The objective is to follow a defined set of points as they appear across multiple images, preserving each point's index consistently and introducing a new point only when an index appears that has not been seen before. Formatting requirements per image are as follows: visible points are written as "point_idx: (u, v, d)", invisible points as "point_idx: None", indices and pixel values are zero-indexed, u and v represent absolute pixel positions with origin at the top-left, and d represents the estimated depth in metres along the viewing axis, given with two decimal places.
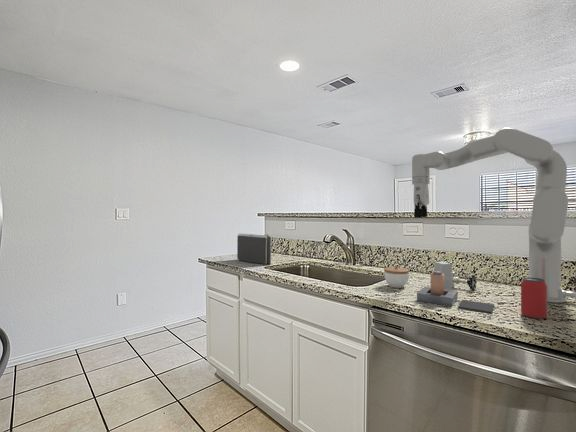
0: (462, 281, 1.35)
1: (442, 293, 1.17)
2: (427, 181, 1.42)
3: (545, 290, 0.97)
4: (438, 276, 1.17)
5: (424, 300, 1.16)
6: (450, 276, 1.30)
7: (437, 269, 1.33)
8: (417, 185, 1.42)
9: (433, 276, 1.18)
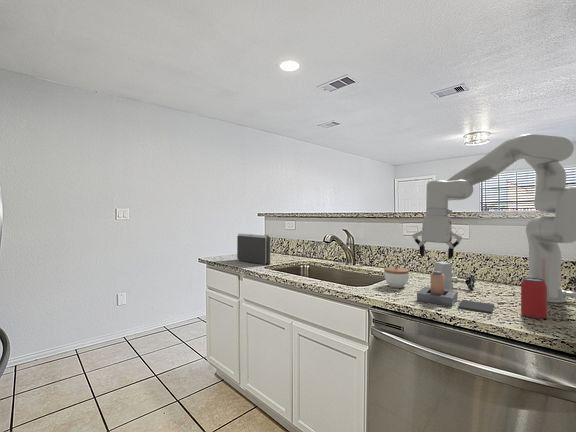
0: (460, 281, 1.36)
1: (442, 293, 1.17)
2: None
3: (545, 290, 0.97)
4: (438, 276, 1.17)
5: (424, 300, 1.16)
6: (450, 276, 1.30)
7: (437, 269, 1.33)
8: (449, 219, 1.16)
9: (433, 276, 1.18)
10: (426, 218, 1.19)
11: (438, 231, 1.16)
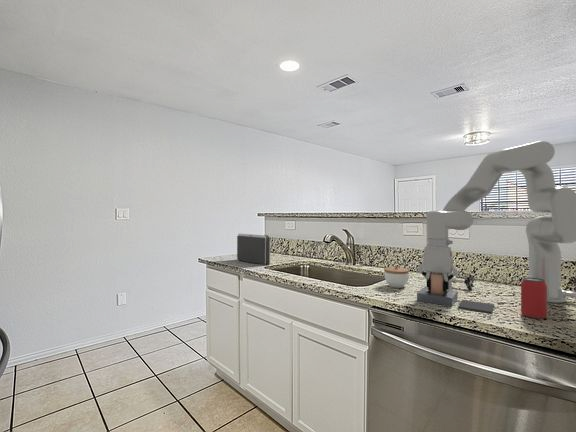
0: (459, 280, 1.36)
1: (442, 293, 1.17)
2: None
3: (545, 290, 0.97)
4: (439, 276, 1.17)
5: (424, 300, 1.16)
6: None
7: None
8: (450, 250, 1.16)
9: (433, 276, 1.18)
10: (427, 248, 1.19)
11: (439, 262, 1.16)
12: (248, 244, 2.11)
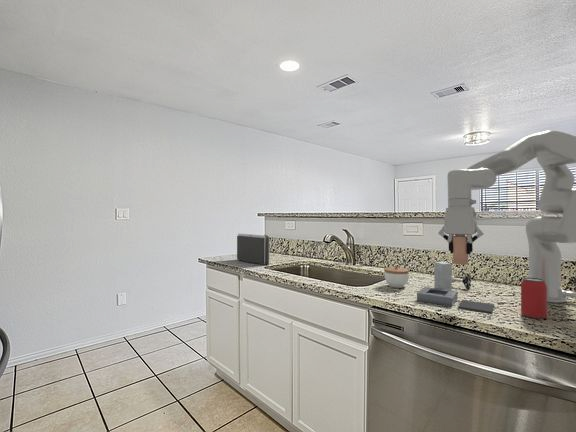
0: (457, 280, 1.37)
1: (466, 256, 1.11)
2: None
3: (545, 290, 0.97)
4: (461, 238, 1.11)
5: (424, 300, 1.16)
6: (450, 276, 1.30)
7: (437, 269, 1.33)
8: (473, 209, 1.10)
9: (456, 238, 1.12)
10: (448, 209, 1.13)
11: (461, 223, 1.10)
12: (248, 244, 2.11)
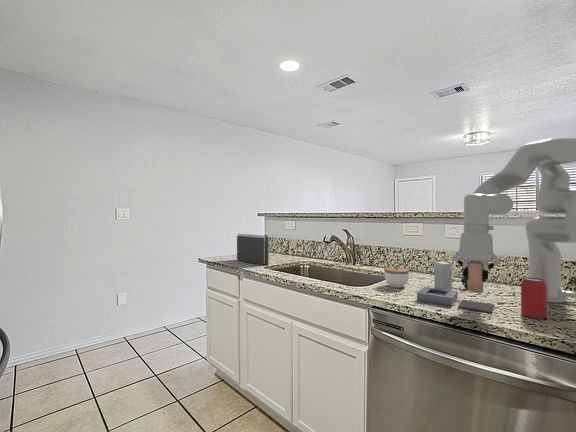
0: (456, 280, 1.38)
1: (481, 283, 1.07)
2: None
3: (545, 290, 0.97)
4: (478, 265, 1.07)
5: (424, 300, 1.16)
6: (450, 276, 1.30)
7: (437, 269, 1.33)
8: (491, 236, 1.06)
9: (471, 265, 1.08)
10: (464, 235, 1.09)
11: (478, 249, 1.07)
12: (247, 244, 2.10)
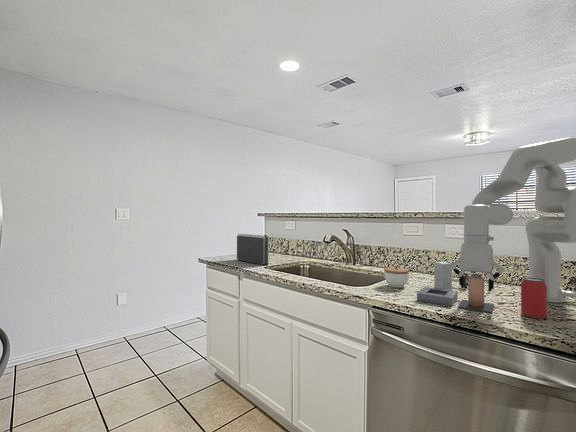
0: (455, 279, 1.38)
1: (482, 298, 1.07)
2: None
3: (545, 290, 0.97)
4: (478, 280, 1.07)
5: (424, 300, 1.16)
6: (450, 276, 1.30)
7: (437, 269, 1.33)
8: (491, 247, 1.06)
9: (472, 280, 1.08)
10: (464, 245, 1.09)
11: (478, 260, 1.07)
12: (247, 244, 2.10)
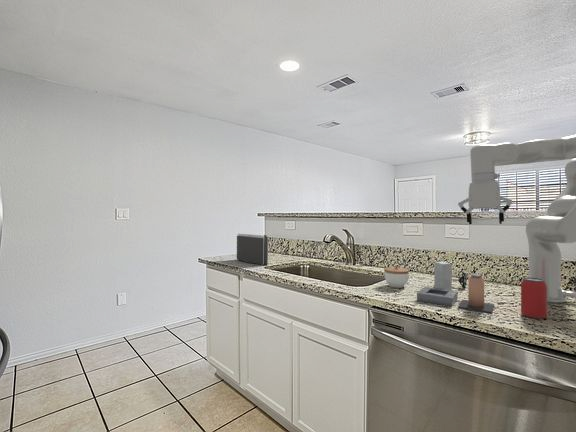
0: (454, 279, 1.39)
1: (482, 298, 1.07)
2: None
3: (545, 290, 0.97)
4: (478, 280, 1.07)
5: (424, 300, 1.16)
6: (450, 276, 1.30)
7: (437, 269, 1.33)
8: None
9: (472, 280, 1.08)
10: (473, 184, 1.16)
11: (486, 197, 1.14)
12: (247, 244, 2.10)
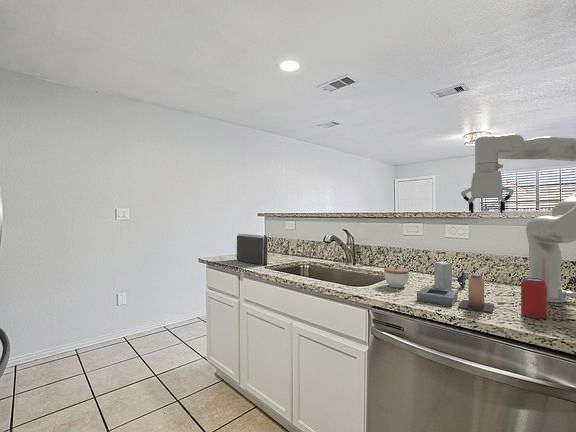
0: (453, 279, 1.39)
1: (482, 298, 1.07)
2: None
3: (545, 290, 0.97)
4: (478, 280, 1.07)
5: (424, 300, 1.16)
6: (450, 276, 1.30)
7: (437, 269, 1.33)
8: (500, 173, 1.17)
9: (472, 280, 1.08)
10: (476, 174, 1.20)
11: (489, 186, 1.17)
12: (247, 244, 2.10)
